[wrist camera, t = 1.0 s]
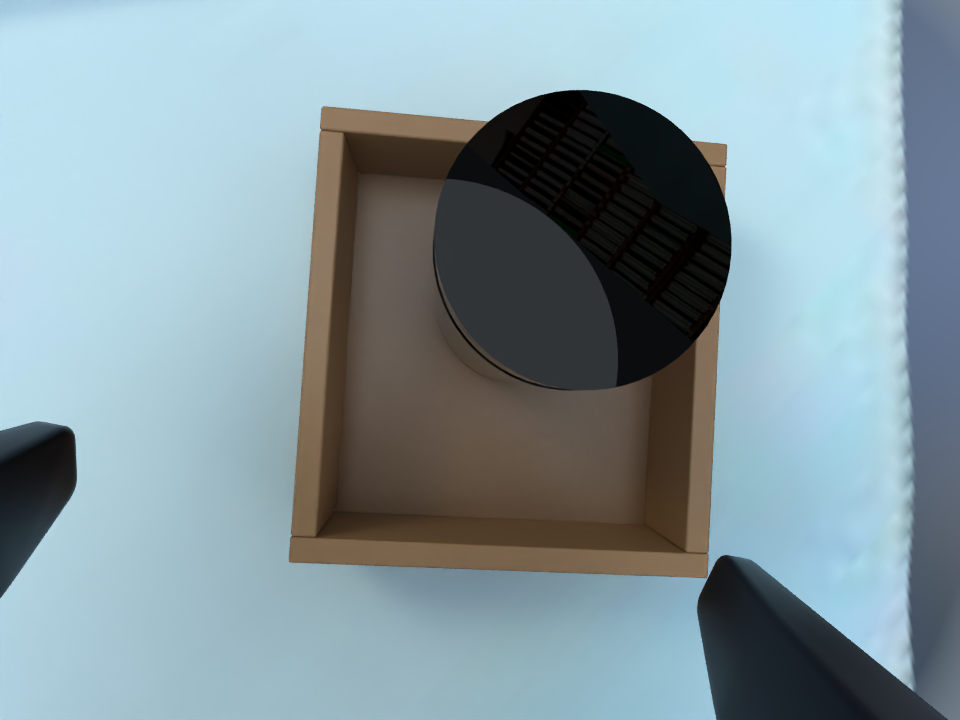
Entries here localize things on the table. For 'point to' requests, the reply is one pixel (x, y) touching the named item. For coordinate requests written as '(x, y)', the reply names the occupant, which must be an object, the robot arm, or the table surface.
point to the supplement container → (578, 244)
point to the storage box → (471, 401)
